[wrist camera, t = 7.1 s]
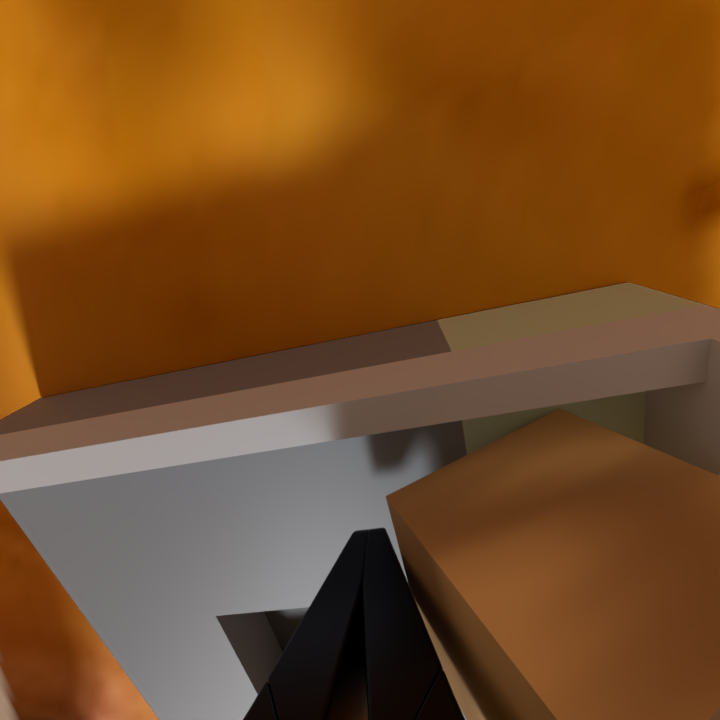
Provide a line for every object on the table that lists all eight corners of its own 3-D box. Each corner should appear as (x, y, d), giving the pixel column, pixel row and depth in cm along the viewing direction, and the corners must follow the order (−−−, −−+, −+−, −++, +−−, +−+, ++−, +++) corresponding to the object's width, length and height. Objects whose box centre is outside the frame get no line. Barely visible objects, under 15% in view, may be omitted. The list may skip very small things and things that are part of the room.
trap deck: (199, 663, 17) (139, 809, 13) (39, 398, 12) (-140, 496, 8) (617, 632, 15) (709, 800, 10) (629, 281, 10) (812, 336, 6)
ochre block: (424, 645, 9) (614, 978, 5) (385, 495, 7) (621, 803, 3) (566, 552, 10) (810, 751, 6) (559, 408, 8) (884, 545, 4)
